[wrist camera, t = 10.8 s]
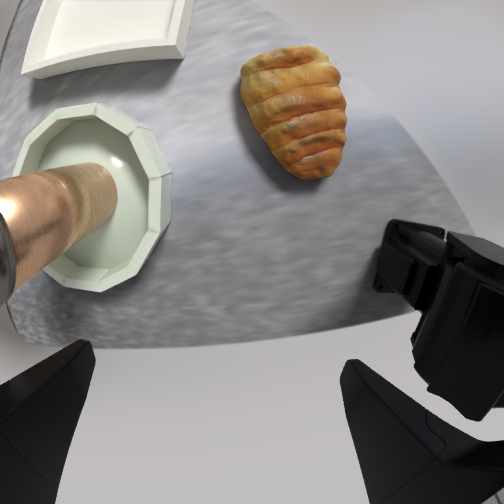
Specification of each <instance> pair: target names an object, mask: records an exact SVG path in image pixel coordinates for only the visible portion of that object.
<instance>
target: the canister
mask: <svg viewBox="0 0 504 504" xmlns="http://www.w3.org/2000/svg"><path fill="white" fill-rule="evenodd" d="M117 200H118V193H117V187H116V184H115V181H114V179H113V177H112V175H111V174H110V172H109V171H108V170H107V169H106V168H105V167H103V166H102V165H100V164H97V163H93V162H86V163H80V164H73V165H68V166H62V167H57V168H51V169H46V170H42V171H37V172H32V173H28V174H24V175H19V176H15V177H11V178H7V179H4V180H0V307H1V306H2V305H3V304H4V303H5V302H6V301H7V300H8V299H9V298H10V297H11V295H12V294H13V292H14V291H16V290H17V289H18V288H19V287H20V286H22V285H23V284H24V283H25V282H26V281H28V280H29V279H30V278H31V277H33V276H34V275H35V274H36V273H38V272H39V271H40V270H42V269H43V268H44V267H45V266H47V265H48V264H49V263H51V262H52V261H53V260H55V259H56V258H57V257H59V256H60V255H61V254H63V253H64V252H66V251H67V250H68V249H70V248H71V247H73V246H74V245H75V244H77V243H78V242H80V241H81V240H83V239H84V238H85V237H87V236H88V235H90V234H91V233H93V232H94V231H96V230H97V229H99V228H100V227H102V226H103V225H105V224H106V223H107V222H108V221H109V220H110V219H111V218H112V216H113V214H114V212H115V210H116V206H117Z"/></svg>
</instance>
